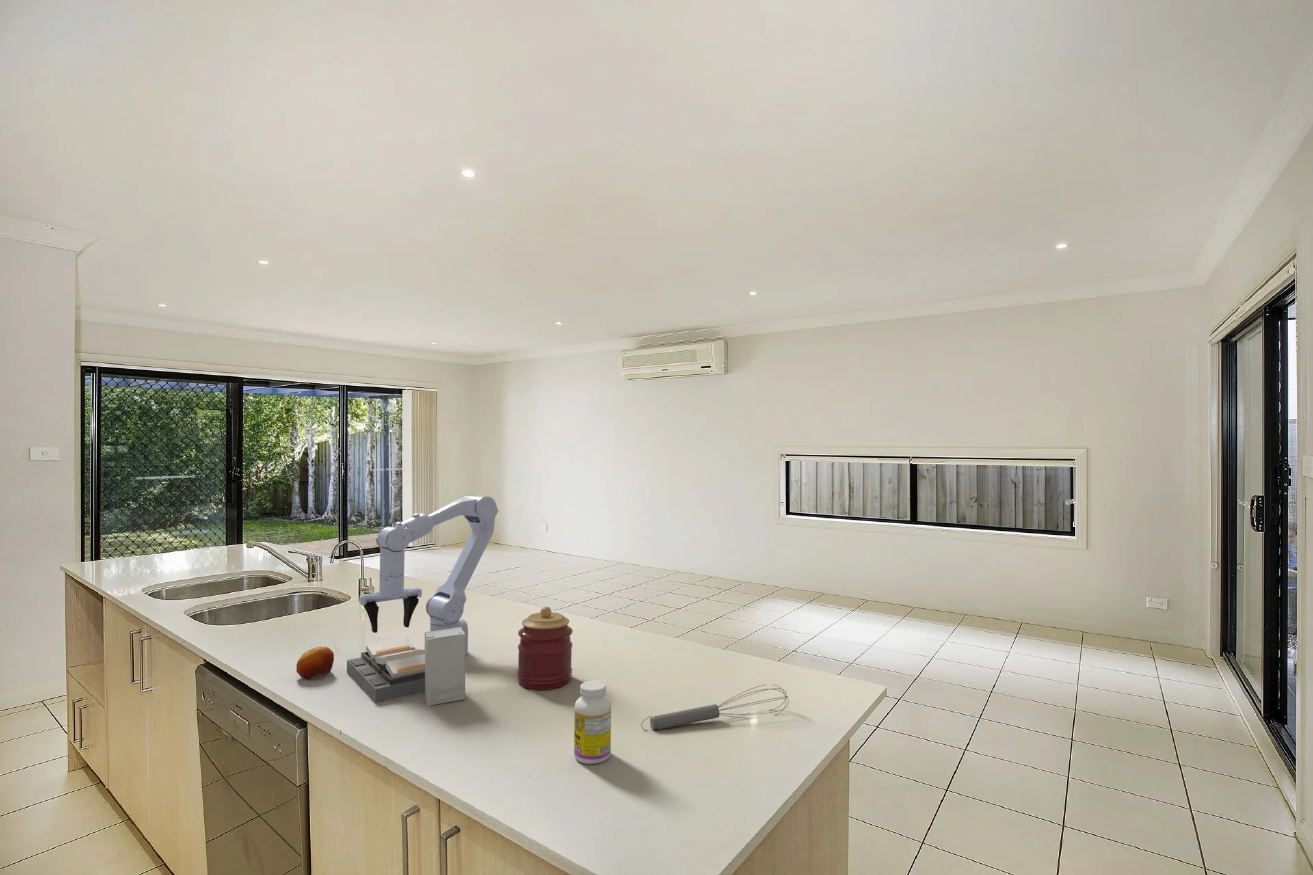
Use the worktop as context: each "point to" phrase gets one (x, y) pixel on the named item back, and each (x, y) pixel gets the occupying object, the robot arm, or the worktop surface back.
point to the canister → (544, 651)
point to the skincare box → (444, 666)
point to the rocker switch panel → (382, 679)
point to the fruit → (315, 663)
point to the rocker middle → (398, 656)
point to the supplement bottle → (592, 724)
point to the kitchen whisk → (701, 713)
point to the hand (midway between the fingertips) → (390, 629)
